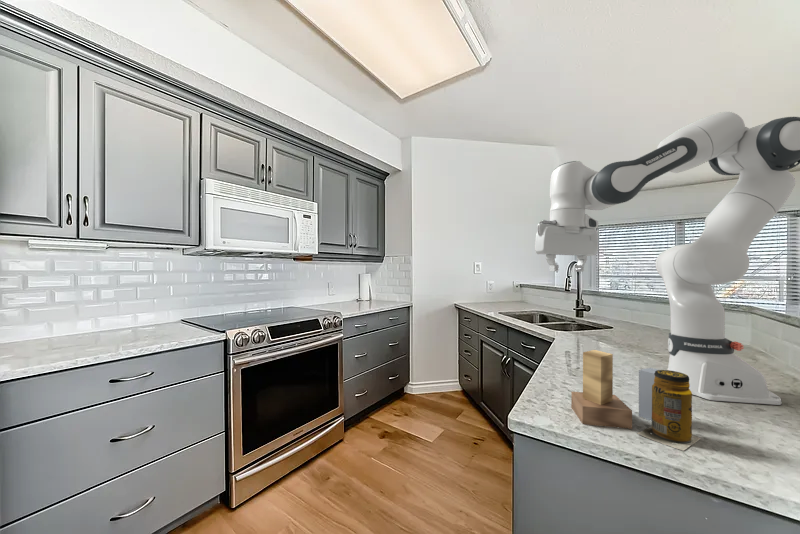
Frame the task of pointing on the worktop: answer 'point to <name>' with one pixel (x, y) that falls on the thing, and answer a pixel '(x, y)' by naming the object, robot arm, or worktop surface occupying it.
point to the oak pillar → (598, 376)
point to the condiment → (671, 410)
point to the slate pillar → (646, 392)
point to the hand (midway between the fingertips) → (566, 271)
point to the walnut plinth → (601, 412)
